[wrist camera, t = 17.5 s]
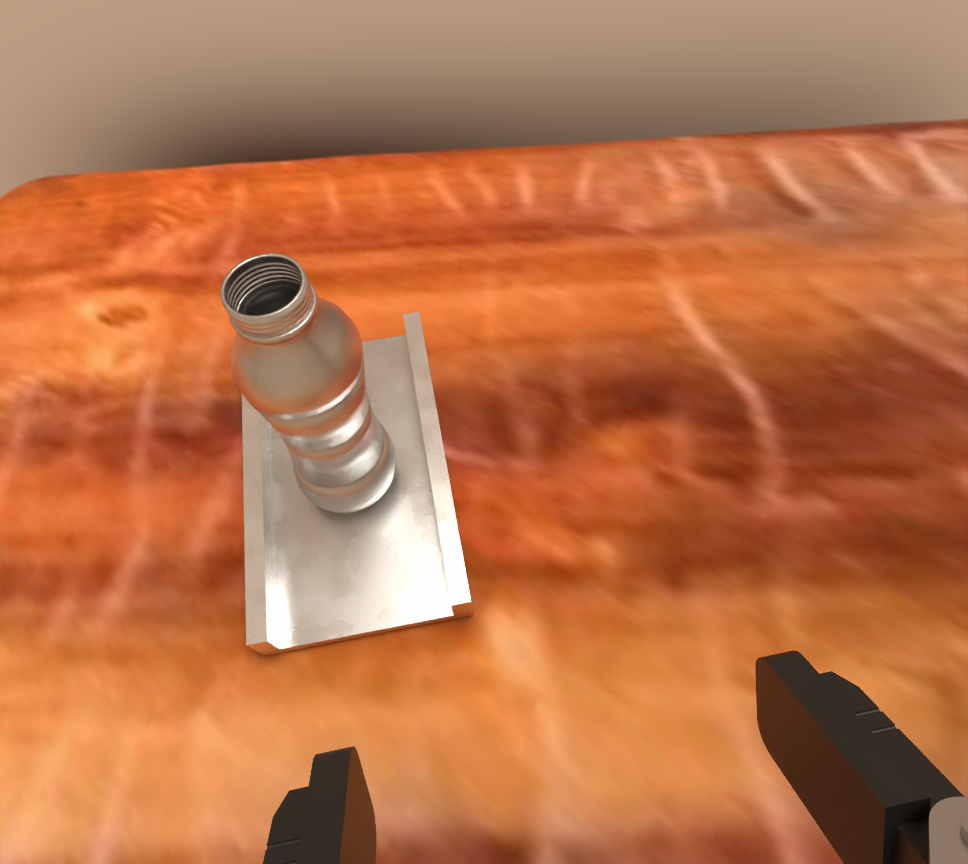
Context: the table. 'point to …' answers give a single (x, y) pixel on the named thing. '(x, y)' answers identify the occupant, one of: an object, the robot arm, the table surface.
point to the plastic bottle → (307, 382)
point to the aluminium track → (355, 524)
